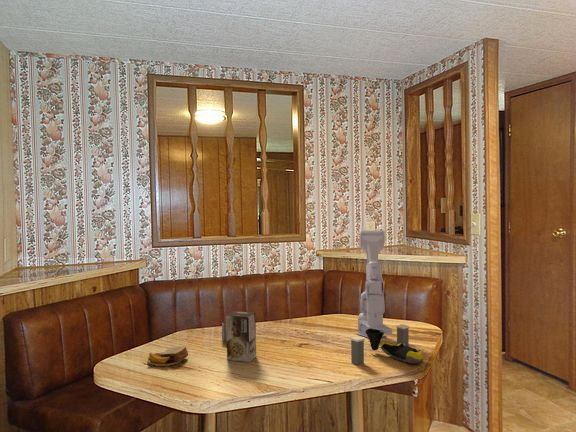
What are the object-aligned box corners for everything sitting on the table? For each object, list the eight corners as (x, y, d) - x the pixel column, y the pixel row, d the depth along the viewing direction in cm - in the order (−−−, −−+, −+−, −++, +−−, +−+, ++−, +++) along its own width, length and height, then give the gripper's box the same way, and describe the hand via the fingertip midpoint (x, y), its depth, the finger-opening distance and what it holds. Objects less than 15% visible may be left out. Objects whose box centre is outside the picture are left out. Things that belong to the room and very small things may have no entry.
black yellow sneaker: (411, 370, 142) (430, 363, 148) (411, 353, 142) (430, 347, 148) (377, 357, 155) (396, 351, 160) (377, 342, 155) (396, 336, 160)
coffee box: (256, 356, 157) (256, 312, 156) (249, 362, 151) (249, 316, 150) (234, 353, 160) (233, 310, 159) (226, 359, 154) (225, 314, 153)
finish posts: (350, 362, 149) (350, 338, 149) (402, 346, 166) (402, 324, 165) (357, 365, 147) (357, 340, 146) (409, 348, 163) (409, 326, 163)
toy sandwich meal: (162, 353, 162) (162, 341, 162) (193, 358, 157) (193, 345, 157) (140, 365, 150) (139, 351, 150) (172, 370, 145) (172, 356, 145)
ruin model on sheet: (248, 337, 181) (247, 314, 180) (250, 339, 178) (250, 316, 178) (221, 341, 176) (221, 317, 176) (224, 343, 173) (223, 319, 173)
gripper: (352, 310, 162) (353, 346, 162) (382, 318, 150) (383, 357, 150) (365, 307, 166) (366, 342, 166) (396, 315, 154) (396, 353, 155)
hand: (375, 349), depth 159 cm, fingers closed
